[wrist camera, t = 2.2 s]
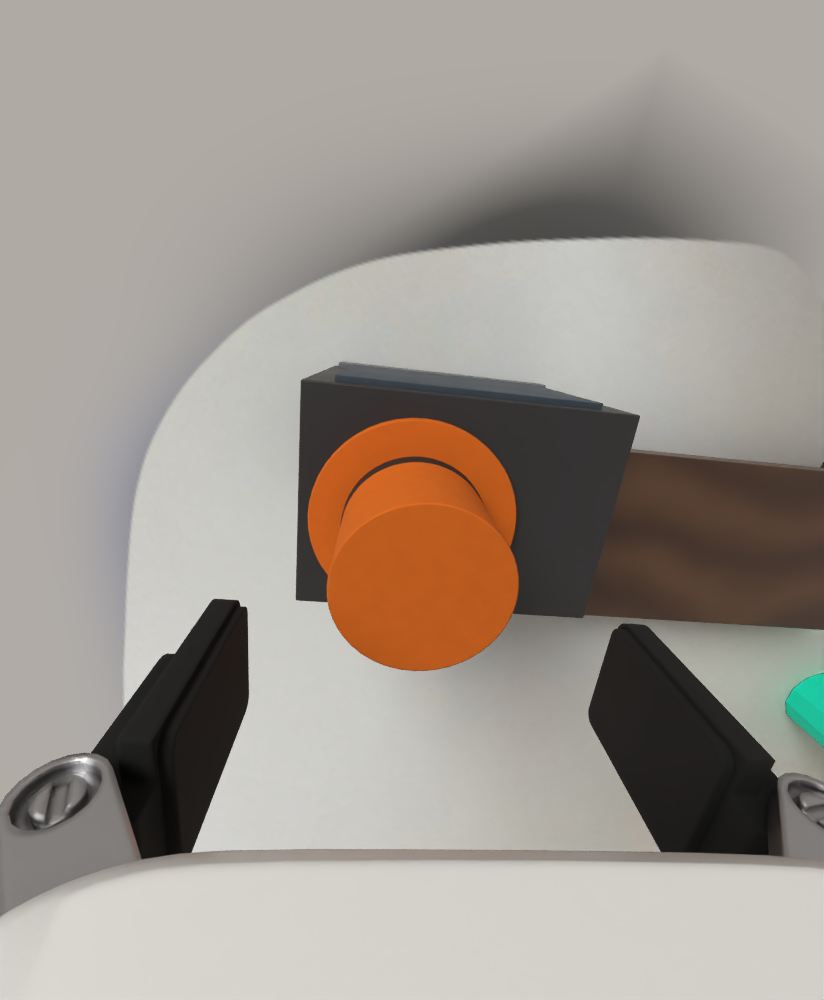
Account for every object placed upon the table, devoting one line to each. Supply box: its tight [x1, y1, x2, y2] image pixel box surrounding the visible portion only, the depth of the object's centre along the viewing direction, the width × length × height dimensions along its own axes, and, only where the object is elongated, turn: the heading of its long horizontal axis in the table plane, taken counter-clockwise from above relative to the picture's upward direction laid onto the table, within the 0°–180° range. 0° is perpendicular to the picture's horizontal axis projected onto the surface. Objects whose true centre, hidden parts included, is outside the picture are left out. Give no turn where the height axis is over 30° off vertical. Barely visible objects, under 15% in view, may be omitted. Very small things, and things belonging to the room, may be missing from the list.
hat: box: [308, 418, 519, 671], centre depth 16 cm, size 9×9×6 cm
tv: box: [296, 362, 640, 618], centre depth 25 cm, size 10×14×12 cm
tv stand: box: [584, 449, 824, 630], centre depth 32 cm, size 12×20×4 cm, turn 84°
